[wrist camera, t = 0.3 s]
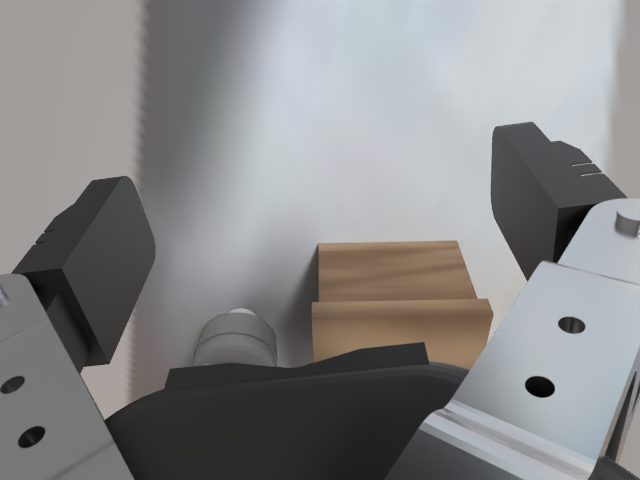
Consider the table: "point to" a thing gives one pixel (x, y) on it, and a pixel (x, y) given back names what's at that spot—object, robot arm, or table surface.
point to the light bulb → (237, 340)
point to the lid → (404, 327)
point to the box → (393, 272)
